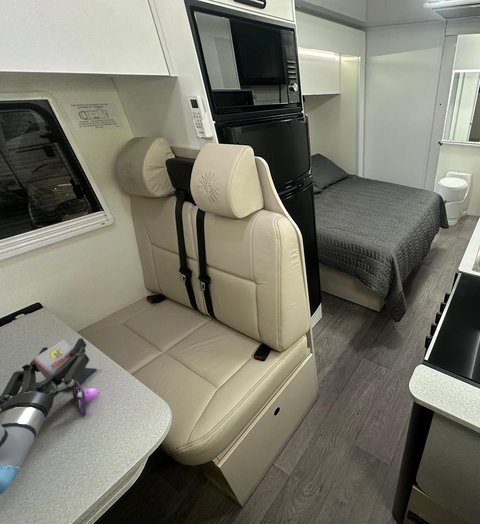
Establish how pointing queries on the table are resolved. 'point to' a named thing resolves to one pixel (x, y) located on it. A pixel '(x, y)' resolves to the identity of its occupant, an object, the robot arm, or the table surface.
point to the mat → (85, 375)
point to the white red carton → (53, 358)
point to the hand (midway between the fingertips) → (65, 346)
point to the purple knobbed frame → (83, 396)
